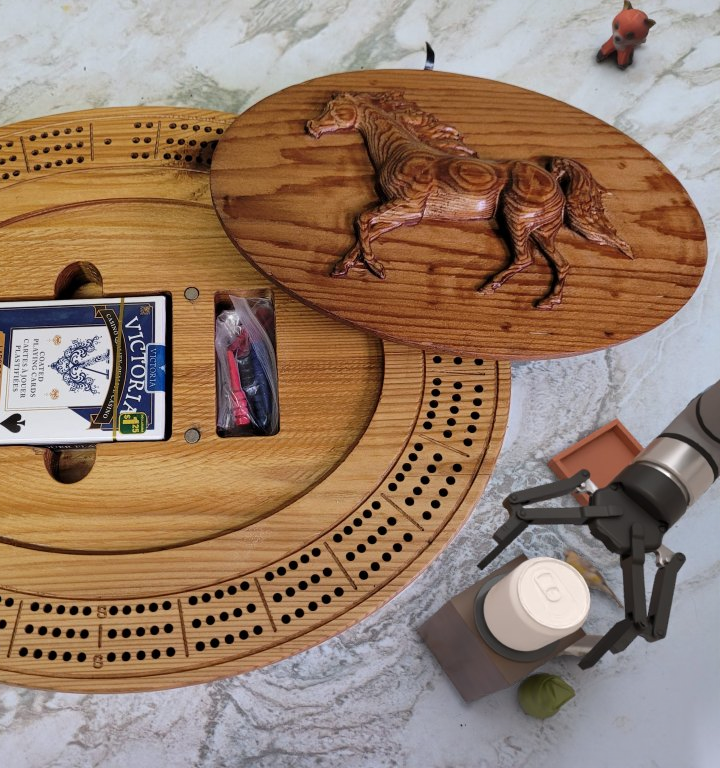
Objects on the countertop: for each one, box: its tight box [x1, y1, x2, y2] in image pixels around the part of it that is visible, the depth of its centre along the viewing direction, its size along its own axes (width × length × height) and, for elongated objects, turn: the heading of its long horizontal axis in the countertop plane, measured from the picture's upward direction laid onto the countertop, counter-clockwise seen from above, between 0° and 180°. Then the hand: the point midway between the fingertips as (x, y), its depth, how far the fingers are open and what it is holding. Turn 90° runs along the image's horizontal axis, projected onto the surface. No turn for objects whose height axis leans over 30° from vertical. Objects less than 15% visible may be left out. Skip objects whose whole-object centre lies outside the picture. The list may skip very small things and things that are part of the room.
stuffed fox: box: [595, 0, 657, 70], centre depth 154 cm, size 8×11×12 cm
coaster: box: [473, 573, 561, 662], centre depth 94 cm, size 10×10×1 cm
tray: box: [546, 417, 645, 507], centre depth 121 cm, size 13×13×2 cm
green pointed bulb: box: [517, 672, 576, 720], centre depth 105 cm, size 6×5×10 cm
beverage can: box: [484, 556, 591, 651], centre depth 89 cm, size 8×8×12 cm
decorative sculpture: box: [555, 548, 625, 657], centre depth 110 cm, size 16×10×7 cm, turn 154°
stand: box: [416, 552, 588, 704], centre depth 103 cm, size 11×11×20 cm
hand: (531, 614), depth 86 cm, fingers open, 13 cm apart
